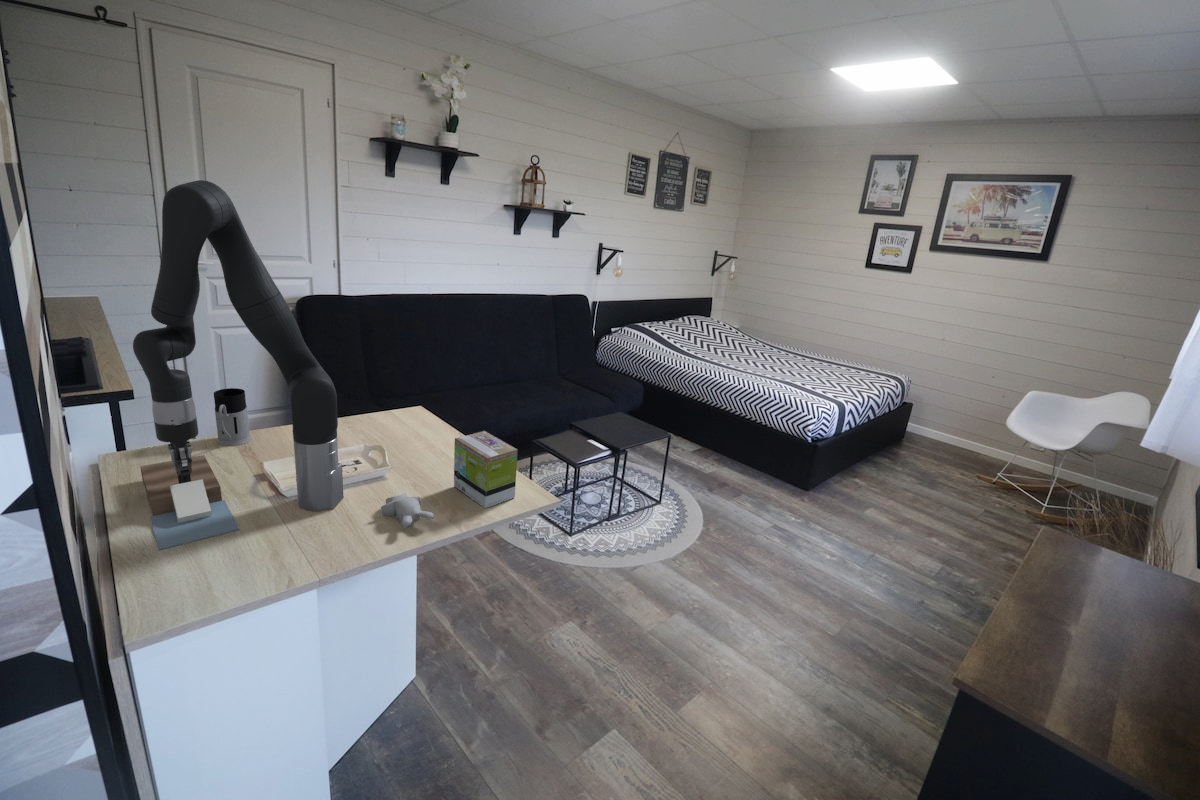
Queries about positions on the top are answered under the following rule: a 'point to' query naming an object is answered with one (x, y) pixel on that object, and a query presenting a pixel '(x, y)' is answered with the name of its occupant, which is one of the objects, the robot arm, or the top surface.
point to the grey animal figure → (405, 509)
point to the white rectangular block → (190, 501)
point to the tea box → (485, 468)
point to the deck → (164, 476)
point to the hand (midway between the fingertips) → (185, 486)
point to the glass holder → (231, 417)
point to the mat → (192, 526)
